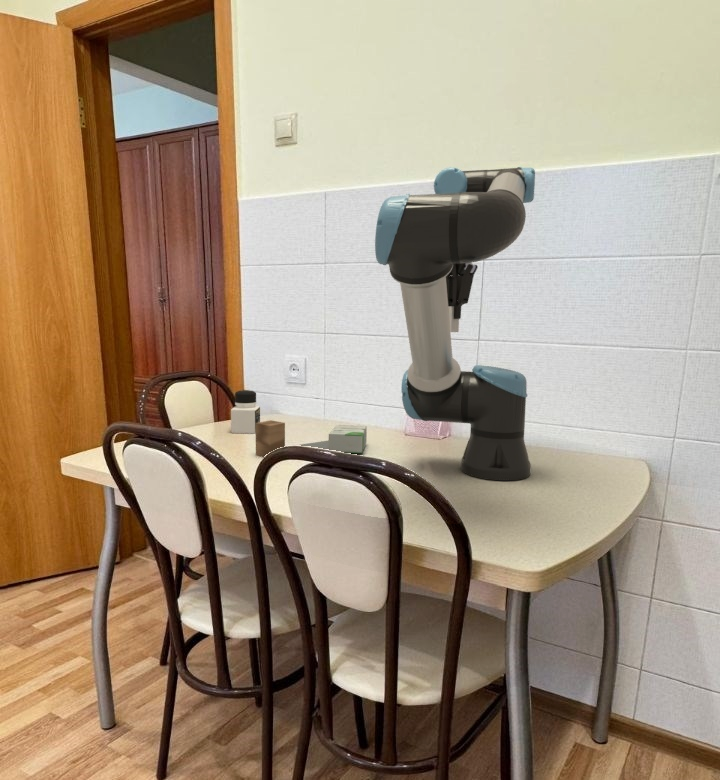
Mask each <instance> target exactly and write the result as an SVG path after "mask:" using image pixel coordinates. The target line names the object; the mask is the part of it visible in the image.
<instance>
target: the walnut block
mask: <svg viewBox="0 0 720 780" xmlns="http://www.w3.org/2000/svg"><path fill="white" fill-rule="evenodd" d="M284 446H285V447H286V422H282V421H277V420H273V419H272V420H270V419H269V420H263V421H260V422H259V423H256V433H255V456H258V457H261V456H262V457H261V458H265V457H264V456H265V455H266V454H268V453H269V452H271V451H273V450H275V449H277V448H280V447H284Z"/></svg>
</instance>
